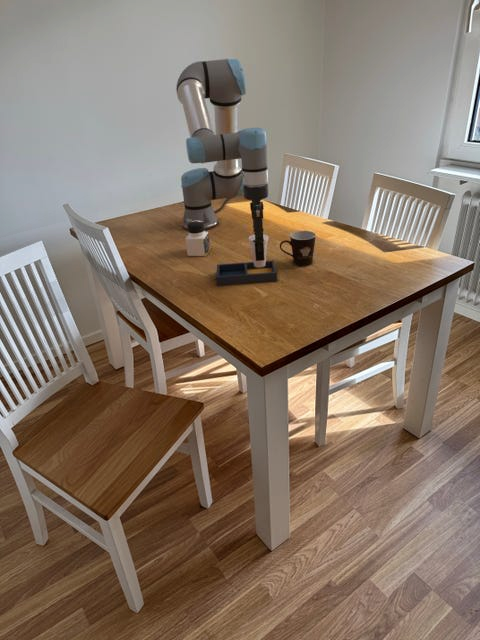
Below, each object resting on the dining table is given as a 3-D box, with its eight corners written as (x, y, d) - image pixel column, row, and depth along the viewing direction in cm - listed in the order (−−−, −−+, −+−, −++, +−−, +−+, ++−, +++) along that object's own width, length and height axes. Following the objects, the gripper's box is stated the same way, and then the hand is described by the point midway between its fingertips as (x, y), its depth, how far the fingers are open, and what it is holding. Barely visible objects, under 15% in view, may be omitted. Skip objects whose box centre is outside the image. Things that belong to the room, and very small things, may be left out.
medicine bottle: (205, 256, 169) (202, 225, 163) (187, 256, 170) (183, 225, 164) (210, 249, 175) (207, 218, 169) (192, 249, 176) (188, 219, 170)
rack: (217, 272, 156) (217, 264, 154) (274, 268, 156) (273, 260, 154) (217, 285, 147) (216, 277, 146) (276, 281, 147) (276, 272, 145)
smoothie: (249, 262, 152) (246, 221, 145) (268, 260, 152) (266, 219, 145) (251, 270, 146) (248, 228, 139) (270, 268, 147) (269, 226, 140)
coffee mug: (317, 258, 160) (318, 231, 155) (312, 268, 153) (313, 240, 148) (285, 256, 164) (284, 229, 159) (279, 266, 157) (278, 238, 152)
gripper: (242, 177, 144) (246, 245, 156) (244, 193, 128) (249, 269, 139) (265, 175, 144) (268, 244, 156) (270, 191, 127) (273, 267, 139)
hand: (259, 255), depth 148 cm, fingers closed on smoothie, 6 cm apart
